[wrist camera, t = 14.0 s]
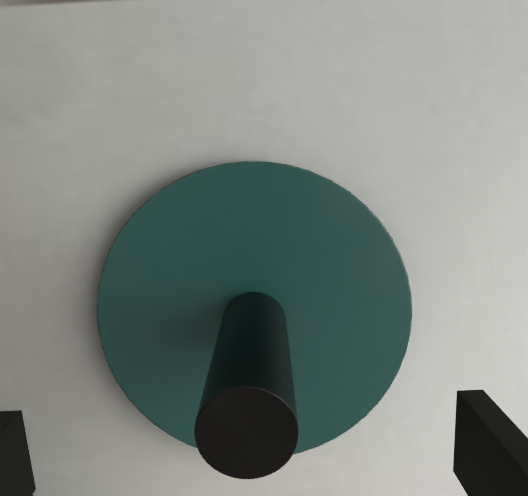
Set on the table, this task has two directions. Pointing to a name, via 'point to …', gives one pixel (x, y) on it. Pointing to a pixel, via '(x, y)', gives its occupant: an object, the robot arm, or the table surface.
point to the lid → (254, 313)
